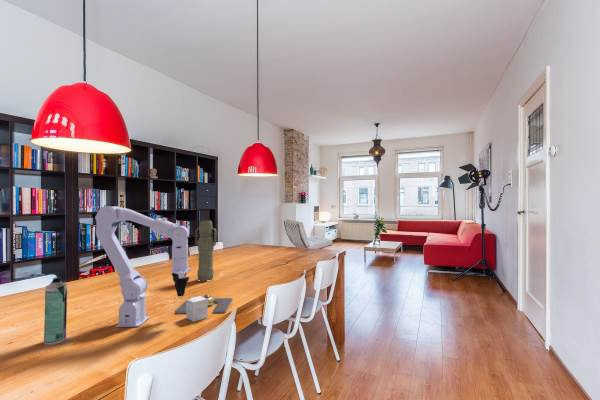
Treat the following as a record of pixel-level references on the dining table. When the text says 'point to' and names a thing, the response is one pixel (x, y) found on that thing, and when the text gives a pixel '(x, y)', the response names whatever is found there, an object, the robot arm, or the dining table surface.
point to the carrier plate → (210, 304)
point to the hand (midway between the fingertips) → (179, 293)
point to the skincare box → (196, 308)
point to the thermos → (205, 250)
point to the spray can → (55, 312)
